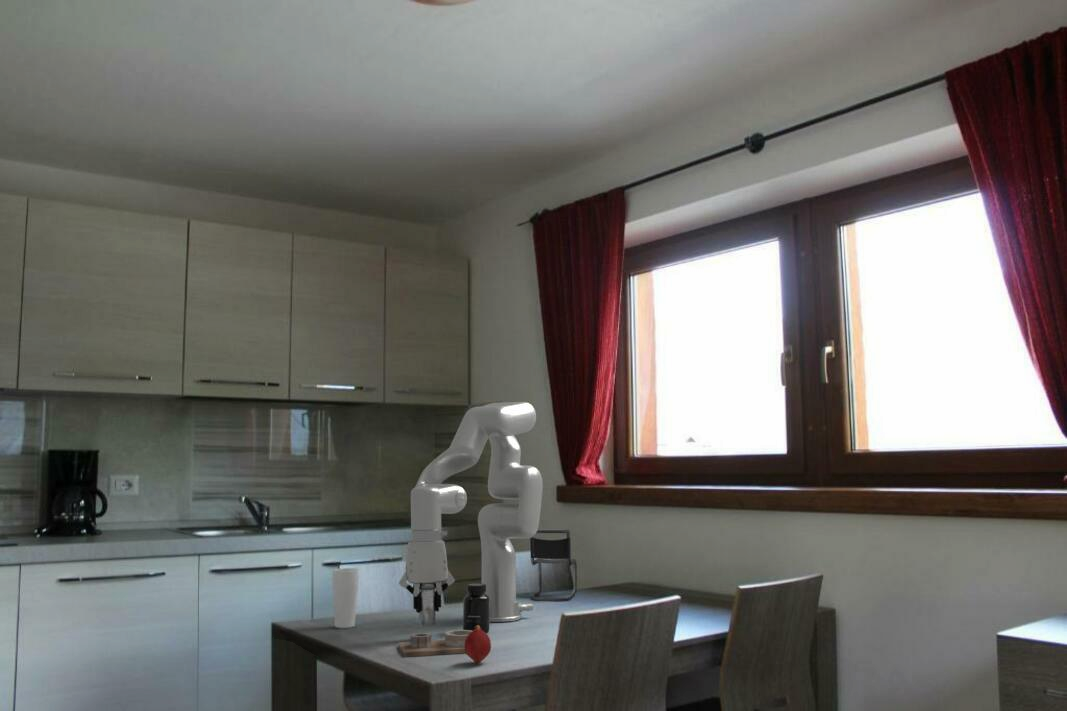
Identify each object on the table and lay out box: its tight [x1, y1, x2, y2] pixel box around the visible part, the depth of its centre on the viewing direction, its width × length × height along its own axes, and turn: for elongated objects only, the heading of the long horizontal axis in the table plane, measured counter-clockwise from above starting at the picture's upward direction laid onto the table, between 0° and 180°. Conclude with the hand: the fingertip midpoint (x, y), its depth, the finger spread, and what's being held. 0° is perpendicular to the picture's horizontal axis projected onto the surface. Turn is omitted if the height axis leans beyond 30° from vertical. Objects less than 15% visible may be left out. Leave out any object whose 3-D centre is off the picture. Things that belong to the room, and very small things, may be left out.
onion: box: [464, 626, 492, 664], centre depth 202 cm, size 6×6×8 cm
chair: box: [529, 529, 578, 602], centre depth 299 cm, size 13×17×22 cm
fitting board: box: [397, 629, 472, 658], centre depth 217 cm, size 19×12×4 cm, turn 105°
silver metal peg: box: [418, 583, 437, 627], centre depth 231 cm, size 4×4×10 cm
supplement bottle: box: [462, 583, 491, 634], centre depth 239 cm, size 7×7×12 cm
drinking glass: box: [332, 567, 359, 629], centre depth 248 cm, size 7×7×15 cm
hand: (427, 610), depth 230 cm, fingers closed on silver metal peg, 4 cm apart
